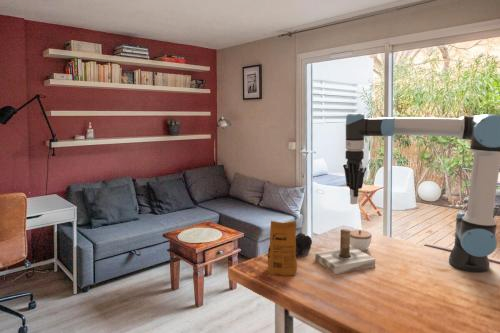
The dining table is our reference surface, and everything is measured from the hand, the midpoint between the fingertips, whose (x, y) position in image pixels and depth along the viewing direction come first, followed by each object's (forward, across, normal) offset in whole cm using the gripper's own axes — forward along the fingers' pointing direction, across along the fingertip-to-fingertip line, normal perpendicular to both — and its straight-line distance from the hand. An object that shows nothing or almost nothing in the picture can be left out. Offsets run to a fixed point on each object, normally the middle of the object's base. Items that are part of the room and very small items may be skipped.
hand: (353, 203), depth 163 cm
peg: (+26, +1, -5) cm, 27 cm away
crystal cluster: (+26, -19, -18) cm, 37 cm away
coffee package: (+26, -3, -34) cm, 43 cm away
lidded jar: (+27, -11, +12) cm, 31 cm away
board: (+26, +1, -5) cm, 27 cm away
